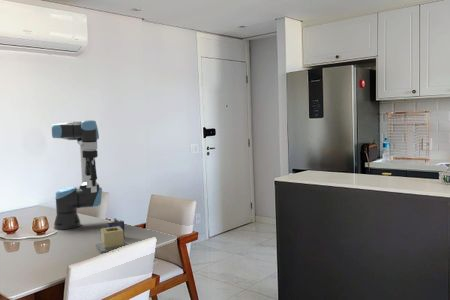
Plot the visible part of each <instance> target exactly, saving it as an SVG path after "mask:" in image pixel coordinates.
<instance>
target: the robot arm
mask: <svg viewBox="0 0 450 300" xmlns="http://www.w3.org/2000/svg"><path fill="white" fill-rule="evenodd" d="M98 128H99V127H98V125H97V121H96V120H88V119H87V120H82V121H67V122H66V121H65V122H63V123H56V124H52V125H51V137H52V138H53V139H62V140H68V141H77V144H78V145H79V149H80V169H81V171H80V172H81V184H80V185H79V188H76V186H70V187H69V186H67V187H64V188H59V189H57V190H56V192H55V206H56V207H55V209H56V210H55V211H56V216H55V220H54V222H53V228H54V229H55V228H56V229H55V230H71V229H75V228H78V227H80V226H81V220H80V216H79V214H78V209H85V208H96V207H99V206H101V203H102V198H103V197H102V195H103V194H102V193H103V191H102V190H103V188H102V187H101V186H100V184H99V182H97V180H98V175H97V166H96V158H98V140H99V139H100V134H99V129H98Z"/></svg>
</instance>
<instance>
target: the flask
mask: <svg viewBox="0 0 450 300" xmlns="http://www.w3.org/2000/svg"><path fill="white" fill-rule="evenodd" d="M117 226H120V227H121V228H122V230H123V231H124V232H125V221H124V220H120V219H119V220H118V219H117V218H116V217H114V218H113V221H107V222H106V228H109V227H117ZM124 237H125V233H124Z"/></svg>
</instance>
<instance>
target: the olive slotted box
mask: <svg viewBox="0 0 450 300" xmlns="http://www.w3.org/2000/svg"><path fill="white" fill-rule="evenodd" d="M124 234H125V230H124V231H123V230H122V228H121V227H120V226H117V227H109V228H107V227H103V228H102V227H101V228H100V243H101V244H102V246H103V247H104V249H109V248H115V247H122V246H124V241H125V239H124V238H125V236H124Z"/></svg>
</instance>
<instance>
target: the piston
mask: <svg viewBox="0 0 450 300" xmlns="http://www.w3.org/2000/svg"><path fill="white" fill-rule="evenodd" d="M95 245H96V247H97V249H98V251H99V252H100V254H104V253H105V252H106V253H109V252H108V251H111V250H114V249H117V248H119V247H115V248H109V249H104V247H103V246H102V244H101V242H98V243H95ZM125 245H129V244H128V243H127V242H126V241H125V240H124V246H125Z"/></svg>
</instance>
